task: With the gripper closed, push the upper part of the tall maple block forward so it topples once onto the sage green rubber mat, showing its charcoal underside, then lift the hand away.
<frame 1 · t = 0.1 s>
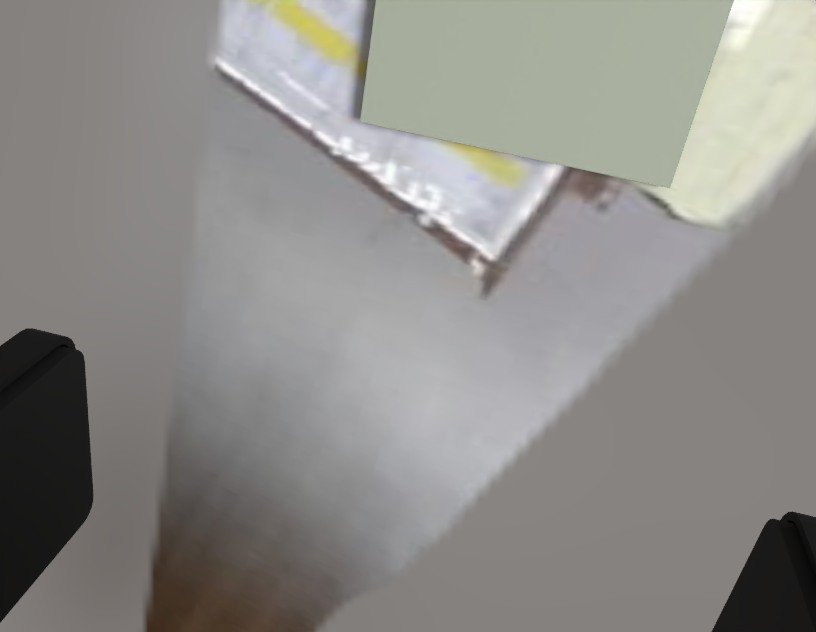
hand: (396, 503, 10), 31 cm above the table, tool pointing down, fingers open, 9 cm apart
rubber mat: (540, 29, 36), on the table
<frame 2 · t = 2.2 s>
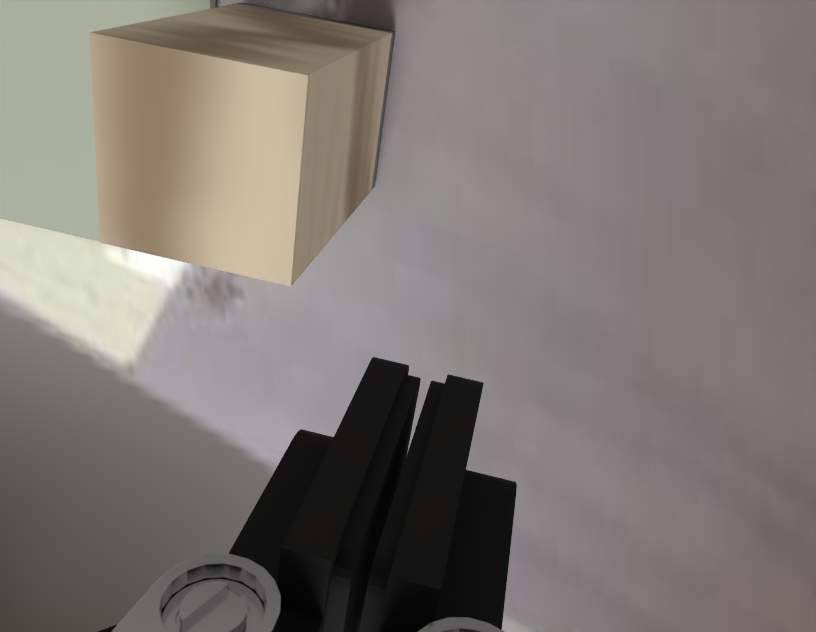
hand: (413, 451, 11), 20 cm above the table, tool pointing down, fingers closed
rubber mat: (74, 50, 31), on the table
maple block: (310, 97, 30), on the table
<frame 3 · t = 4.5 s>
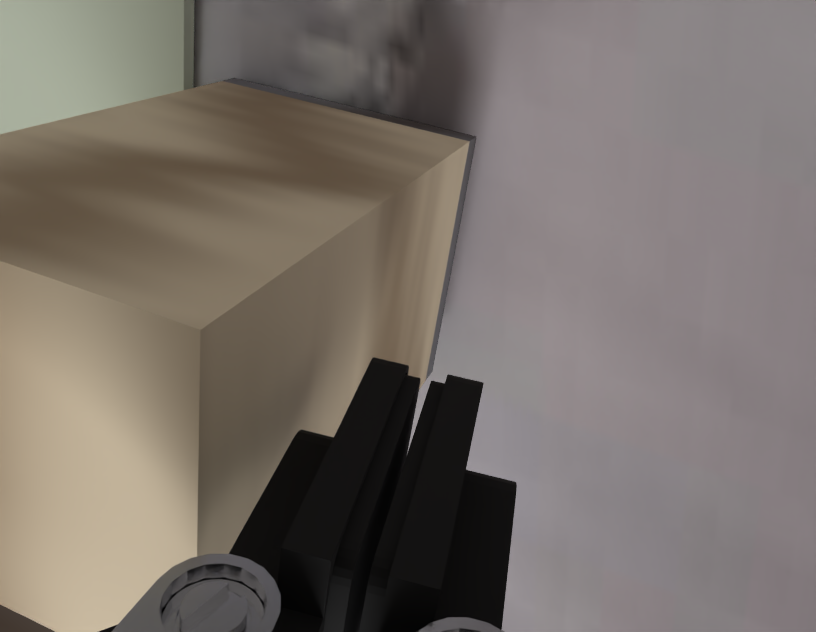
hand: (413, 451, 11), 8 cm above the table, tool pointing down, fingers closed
maple block: (336, 229, 18), on the table, tilted 9°
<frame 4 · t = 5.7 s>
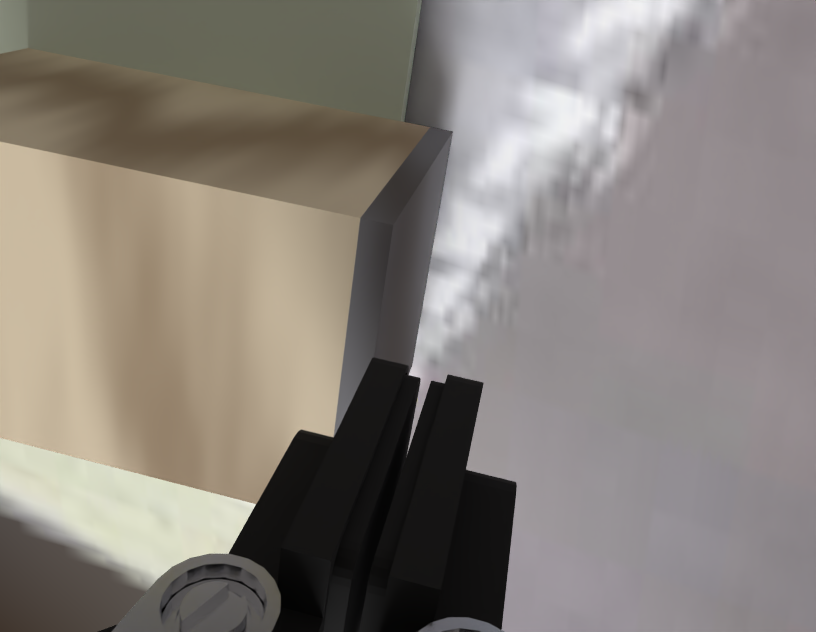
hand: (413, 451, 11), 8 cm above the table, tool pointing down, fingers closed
rubber mat: (155, 189, 19), on the table
maple block: (405, 313, 15), point 3 cm above the table, tilted 90°, touching rubber mat
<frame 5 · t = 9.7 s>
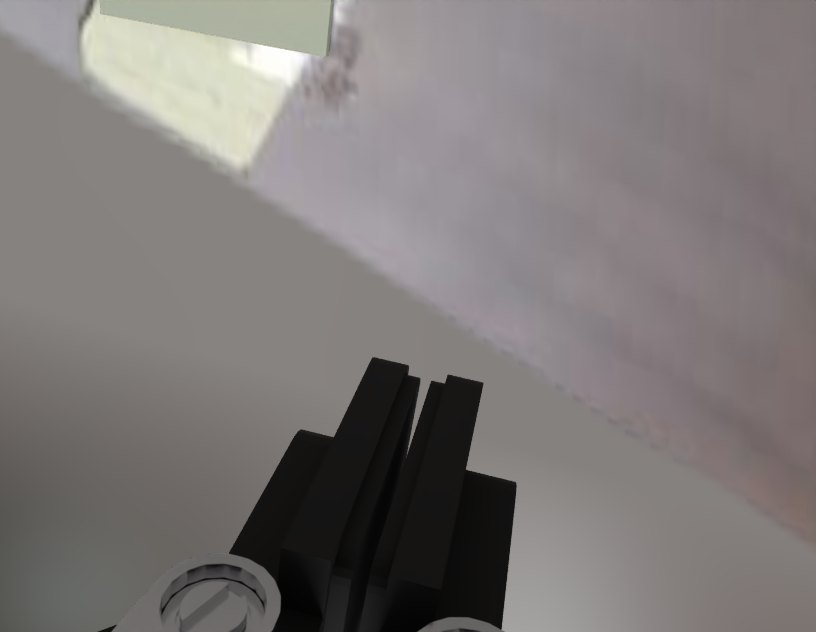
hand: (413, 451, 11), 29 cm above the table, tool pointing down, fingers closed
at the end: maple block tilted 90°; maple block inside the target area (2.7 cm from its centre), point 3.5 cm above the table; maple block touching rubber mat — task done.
